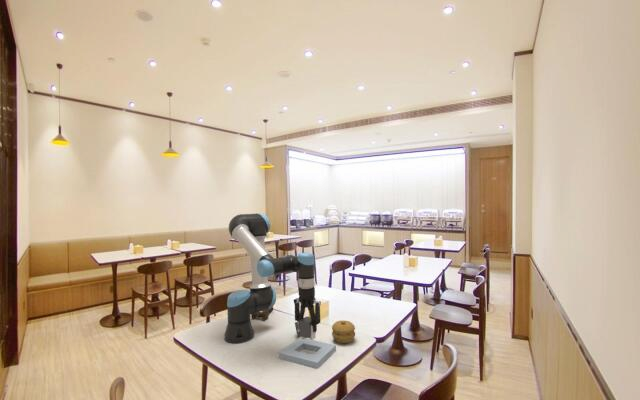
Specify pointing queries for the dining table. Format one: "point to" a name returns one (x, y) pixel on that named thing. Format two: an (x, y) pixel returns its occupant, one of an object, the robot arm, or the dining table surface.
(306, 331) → the plug
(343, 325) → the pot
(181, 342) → the dining table surface
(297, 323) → the electrical switch
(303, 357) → the socket plate
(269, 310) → the kendama
